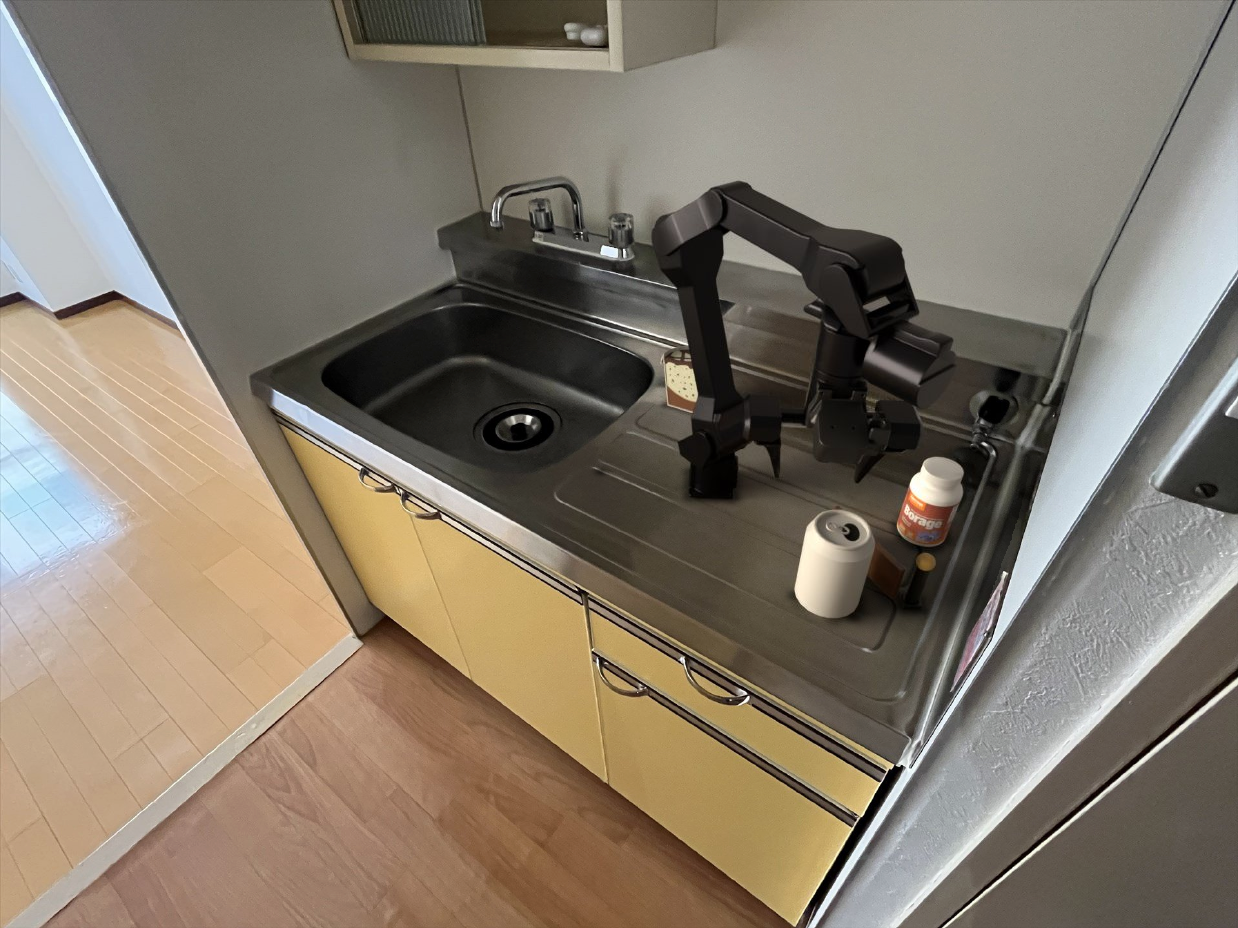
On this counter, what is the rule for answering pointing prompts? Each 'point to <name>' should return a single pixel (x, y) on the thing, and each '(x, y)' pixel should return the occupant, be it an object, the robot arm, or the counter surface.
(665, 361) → the food container
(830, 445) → the robot arm
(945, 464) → the pill bottle
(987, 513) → the counter surface
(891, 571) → the door
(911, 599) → the yellow topped black post
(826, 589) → the can
